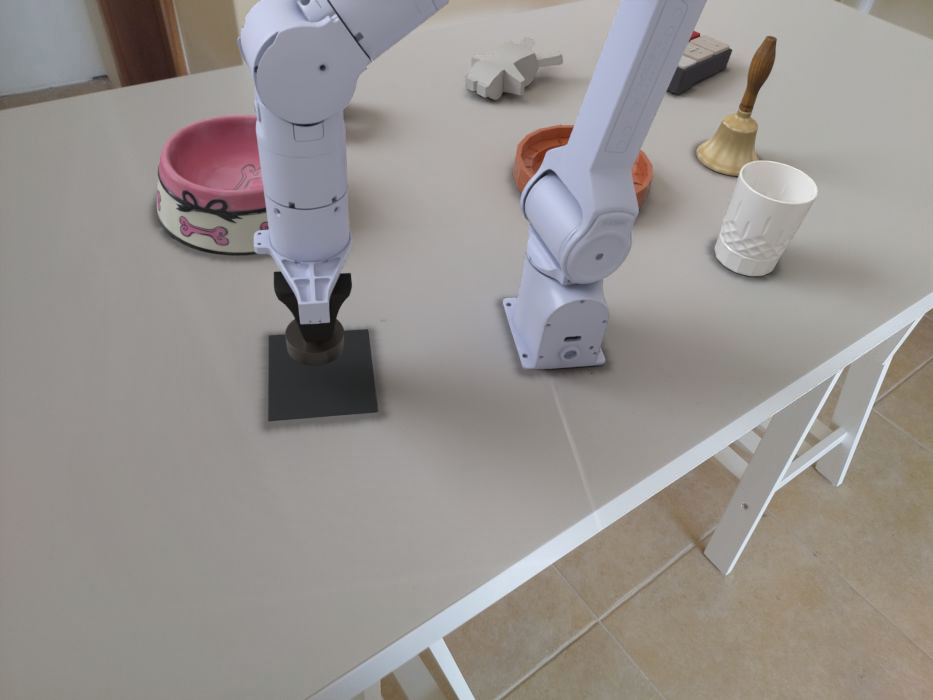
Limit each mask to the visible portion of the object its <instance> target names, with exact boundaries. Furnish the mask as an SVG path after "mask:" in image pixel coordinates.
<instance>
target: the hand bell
mask: <svg viewBox="0 0 933 700" xmlns="http://www.w3.org/2000/svg"><path fill="white" fill-rule="evenodd" d="M777 41H778V38H777V37H775V36H772V35H767V36H765V38H764V40H763V41H762V43H761V44H760V46H759V47H758V48H757V49H756V51H755V53H754V54H753V56H752V59H751V62H750V63H749V67H748V72H747V81H746V88H745V91H744V93H743V96H742V99H741V100H740V103H739V105H738V110H737V112H736V113H730V114H727V115H725V116H724V118H722V120H721V123H720V124H719V126H718V128H717V130H716V132H715V133H714V134H713V135H712V137H710V138H709V139H707V140H705V141H704V142H701V144H700V145H699V146H698V147H697V148H696V150H695V155H696V159H698V161H699V162H700V163H701V164H702V165H703V166H705V167H706V168H708V169H710V170H712V171H714V172H716V173H718V174H722V175H727V176H731V177H732V176H733V177H738V176H739V173H740V170H741V168H742V167H743V166H744V165H745V164H747V163H750V162H753V161H760V158H759V155H758V153H757V152H756V147H755V145H756V140H757V139H756V138H757V133H758V130H759V124H758V123H757V121H756V120H755V119H754V118H753V117H752V114H753V110H754V106H755V105H756V102H757V101H756V100H757V97H758V95H759V92H760V90H761V88H762V87H763V86H764V84H765V83H766V81H767V80H768V78H769V77H770V74H771V72H772V70H773V67H774V65H775V61H776V56H777V55H776V54H777Z"/></svg>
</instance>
